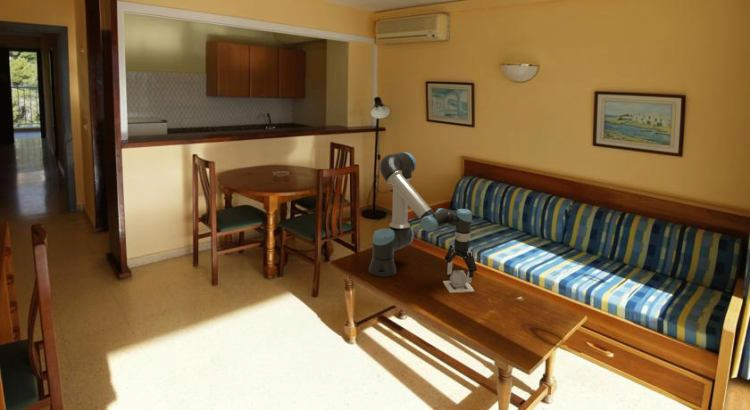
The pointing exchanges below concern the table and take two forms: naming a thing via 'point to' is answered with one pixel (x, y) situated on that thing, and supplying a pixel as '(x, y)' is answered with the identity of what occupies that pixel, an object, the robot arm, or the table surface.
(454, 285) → the die
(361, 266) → the table surface
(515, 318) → the table surface
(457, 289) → the board
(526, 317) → the table surface
